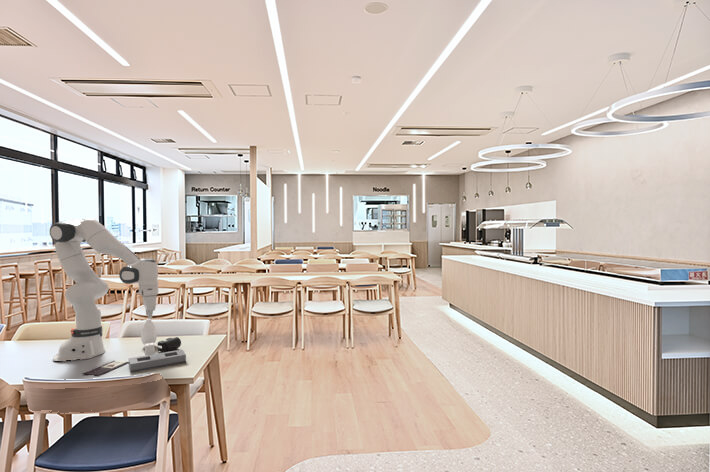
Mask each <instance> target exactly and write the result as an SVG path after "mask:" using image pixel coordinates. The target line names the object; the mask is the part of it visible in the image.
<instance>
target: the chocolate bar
mask: <svg viewBox="0 0 710 472" xmlns="http://www.w3.org/2000/svg"><path fill="white" fill-rule="evenodd" d="M126 365H129V361H124V360H121V361H120V360H112V361H110V362H107V363H105V364H102V365H101V366H98V367H95V368H93V369H90V370H87V371H85V372H83V373H82V374H84V375H83V376H88V375H94V376H93V377H101V376H103V375H105V374H107V373H110V372H112V371H113V370H116V369H118V368H121V367H123V366H126ZM102 374H103V375H102ZM100 375H101V376H100Z"/></svg>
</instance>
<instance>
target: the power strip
mask: <svg viewBox="0 0 710 472" xmlns="http://www.w3.org/2000/svg"><path fill="white" fill-rule="evenodd" d="M128 362H129V363H128V369H129V373H130V374H132V373H137V372H143V371H149V370H153V369H159V368H164V367H169V366H175V365H180V364H186V363H187V354H186V353H185V352H184V350H183V349H176V350H174V351H170V352H164V353H158V352H157V353H155V354H152V355H146V356H145V355H141V356H133V357H129V358H128Z"/></svg>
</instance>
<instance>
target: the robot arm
mask: <svg viewBox="0 0 710 472" xmlns="http://www.w3.org/2000/svg"><path fill="white" fill-rule="evenodd" d="M49 236H50V238H51V239H52V240H53V241H54V242H55V244H54V250H55V253H56V255H57V259H58V261H59V263H60V265H61V267H62V269H63V271H64V273H65V276H67V277H68V278H70V279H72V280H73V281H74V282H75V283H74V284H72V285H70V286H69V287H68V288H67V289H66V290H65V293H64V297H65V299H66V301H67V302H68V303H69V304H71V306H72V308H73V312H74V314H75V328H71V329H70V334H71V337H70V338H68V339H67V340H66V341H64V342H63V343H62V344H60V347H58V348H59V349H58V352H57V354H55V355H54V356H53V358H52V361H53V360H54V361H63V362H67V361H66V360H71V361H77V360H76V359H80V360H87V359H88V360H89V359H92V358H95V357H96V356H100V355H102V354H105V353H106V348H105V347H104V341H103V335H104V334H103V325H102V312H101V310H100V309H98V307H97V305H96V300H99V299H101V298H102V297H104V296H106V294H107V293H108V292H109V289H110V288H109V283H108V282H107V281H105V280H103V279H102V278H100V277H99V275H98V274H97V273H96V272H95V271H94V270H93V268H92V267H91V266H90V263H89V261H88V259H87V257H86V256H85V253H84V252H83V250H82V247H81V243H87V244H88V245H89V247H90V248H91V249H93V250H94V251H95V252H97V253H99V254H102V255H110V256H114V257H117V258H119V259H120V260H122V261H123V262H124V263H125V264H126V265H125V266H123V267H122V268H121V269H120V271H119V275H118V276H119V279H120V281H121V282H122V283H124V284H126V285H132V284H138V294H139V295H141V298H142V303H143V306H144V308H145V315H146V316H147V319H148V318H149V319H151V320H152V319H153V315H154V314H153V313H154V311H155V310H156V307H157V306H156V305H157V296H158V294H159V281H158V276H159V270H158V262H157V261H156V260H155V259H153V258H149V257H148V258H146V257H144V258H143V257H142V258H139V257H138V256H137V255H136V254H135V253H134V252H133V251H132V250H131V249H130V248H129V247H127V246H126V245H124V243H122V242H121V241H120V240H119V239H117V238H116V237H115V236H114V235H113V234H112V233H111V232H110V231H109V230H108V229H107V228H106V227H105V226H104V225H103V224H101V222H99V221H98V220H96V219H94V218H87V219H85V218H83V219H70V220H65V221H58V222H55V223H54V224H52V225H51V226H50V228H49ZM54 361H53V362H54Z"/></svg>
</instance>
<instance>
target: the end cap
mask: <svg viewBox="0 0 710 472" xmlns="http://www.w3.org/2000/svg"><path fill="white" fill-rule="evenodd" d="M181 345H182V340H181V339H180V338H179V336H176V337H168V338H166V339H165V340H159V341H157V346H158V347H157V354H158V353H164V352H170V351H176V350H179V348H180V347H181Z"/></svg>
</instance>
